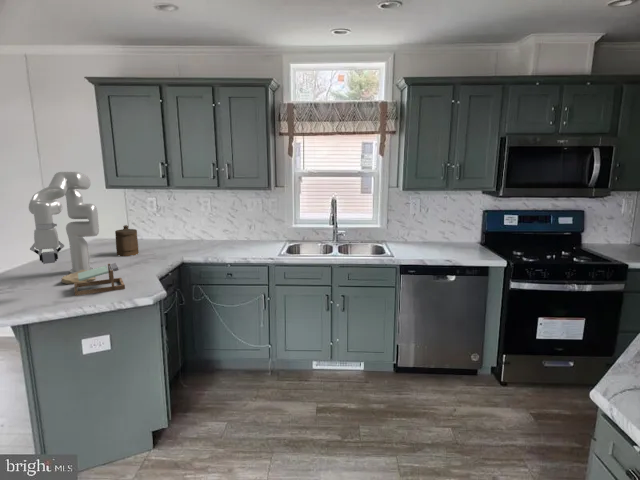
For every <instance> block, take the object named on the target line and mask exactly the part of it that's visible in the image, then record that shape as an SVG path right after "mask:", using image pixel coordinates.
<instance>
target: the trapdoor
mask: <svg viewBox="0 0 640 480" xmlns="http://www.w3.org/2000/svg"><path fill="white" fill-rule="evenodd" d="M110 266H111V268H112V270H113V272H117V271H119V267H118V264H117V263H116V262H114V263H110ZM106 274H109V272H108V266H107V265H103V266H99V267H95V268H93V269H92V270H88V271H84V272H81V273H78V279H79V281H82V280H85V279H89V278H93V277H95V278H96V277H100V276H103V275H106Z"/></svg>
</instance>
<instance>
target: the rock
mask: <svg viewBox="0 0 640 480" xmlns="http://www.w3.org/2000/svg"><path fill="white" fill-rule="evenodd" d="M84 271H87V270H84V269H83V270H80V271H78V272H76V273H68V274H66V275H63V277H61V283H63V284H66V285H70V284H71V285H73V284H75V283H83V282H91V281H97V278H96V277H93V278H89V279H85V280H82V281H79V279H78V273H81V272H84Z"/></svg>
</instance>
